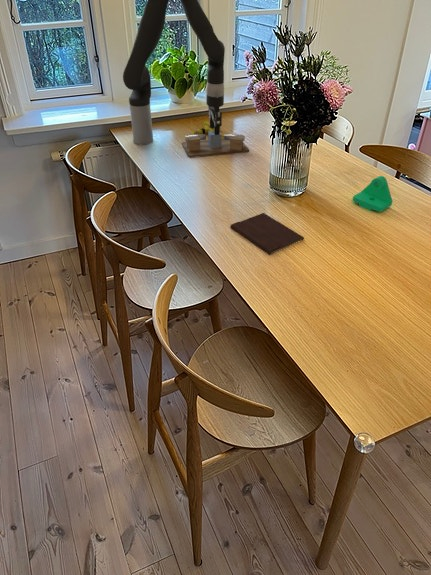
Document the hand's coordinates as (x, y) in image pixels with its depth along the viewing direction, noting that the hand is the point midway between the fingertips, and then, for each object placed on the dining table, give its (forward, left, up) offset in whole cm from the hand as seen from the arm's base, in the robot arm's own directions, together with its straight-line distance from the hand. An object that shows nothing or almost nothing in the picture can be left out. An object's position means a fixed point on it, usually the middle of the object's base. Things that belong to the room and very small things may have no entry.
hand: (214, 131), depth 201 cm
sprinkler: (-18, +2, -8) cm, 20 cm away
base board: (+1, 0, -8) cm, 8 cm away
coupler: (0, 0, -7) cm, 7 cm away
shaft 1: (+1, -9, -3) cm, 10 cm away
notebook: (+77, -1, -8) cm, 77 cm away
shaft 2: (+4, +8, -3) cm, 10 cm away
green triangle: (+67, +43, -8) cm, 80 cm away
